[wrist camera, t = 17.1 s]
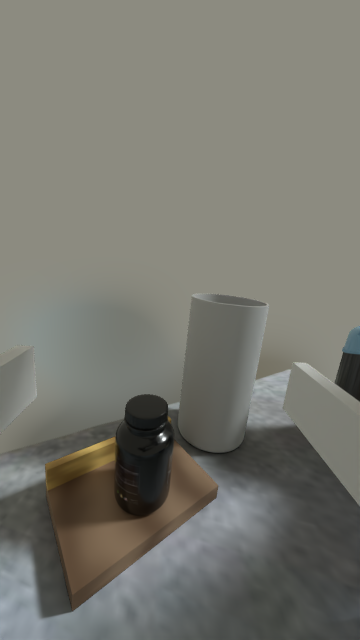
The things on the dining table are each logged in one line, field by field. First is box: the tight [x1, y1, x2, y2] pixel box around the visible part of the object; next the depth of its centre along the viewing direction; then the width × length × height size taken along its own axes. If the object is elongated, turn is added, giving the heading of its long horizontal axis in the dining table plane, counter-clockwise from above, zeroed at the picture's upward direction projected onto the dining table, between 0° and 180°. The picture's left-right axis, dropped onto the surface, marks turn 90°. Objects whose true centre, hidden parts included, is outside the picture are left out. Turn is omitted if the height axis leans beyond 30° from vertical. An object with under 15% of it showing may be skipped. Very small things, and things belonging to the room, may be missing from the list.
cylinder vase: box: [178, 294, 269, 453], centre depth 41 cm, size 12×12×25 cm
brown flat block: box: [45, 416, 218, 611], centre depth 29 cm, size 18×12×5 cm, turn 128°
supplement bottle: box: [114, 394, 174, 516], centre depth 27 cm, size 7×7×12 cm
